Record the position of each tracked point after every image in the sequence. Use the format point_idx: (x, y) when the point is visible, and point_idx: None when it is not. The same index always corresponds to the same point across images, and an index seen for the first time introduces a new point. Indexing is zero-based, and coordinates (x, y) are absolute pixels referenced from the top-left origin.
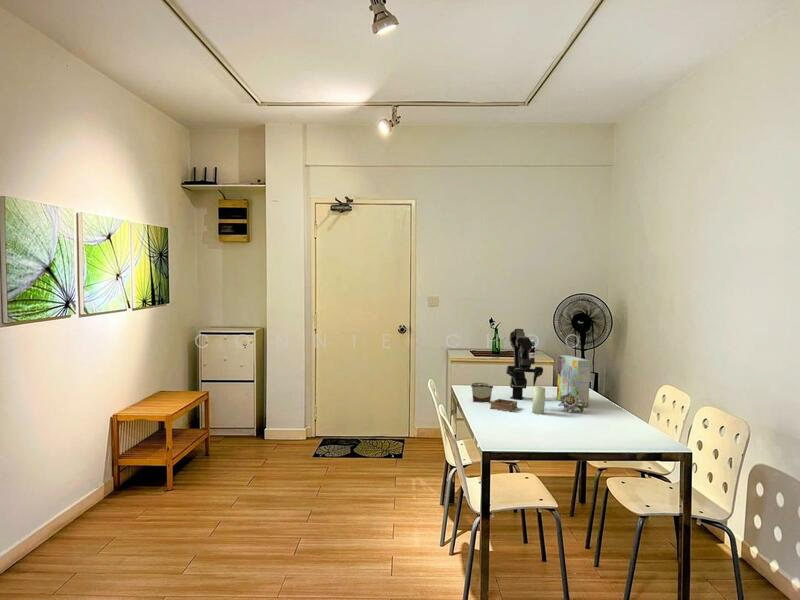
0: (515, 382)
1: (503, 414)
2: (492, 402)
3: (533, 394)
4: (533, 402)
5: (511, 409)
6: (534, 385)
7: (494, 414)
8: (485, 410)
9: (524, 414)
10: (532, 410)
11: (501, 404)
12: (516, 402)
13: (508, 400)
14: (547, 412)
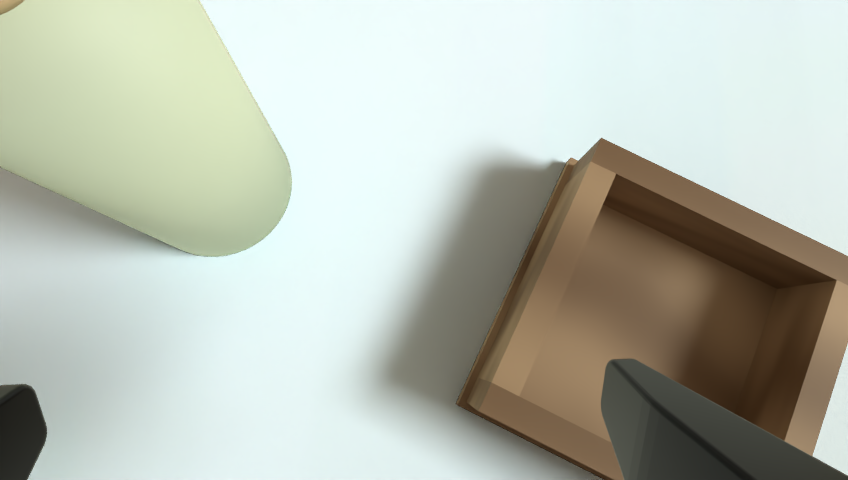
0: (688, 403)
1: (637, 34)
2: (844, 257)
3: (213, 34)
4: (252, 97)
5: (549, 220)
6: (13, 387)
7: (732, 15)
8: (844, 180)
9: (400, 82)
10: (285, 167)
11: (709, 197)
12: (489, 383)
13: (616, 460)
14: (80, 250)
